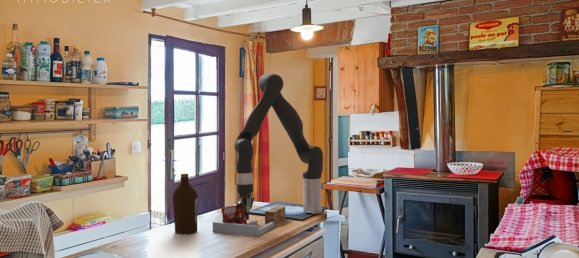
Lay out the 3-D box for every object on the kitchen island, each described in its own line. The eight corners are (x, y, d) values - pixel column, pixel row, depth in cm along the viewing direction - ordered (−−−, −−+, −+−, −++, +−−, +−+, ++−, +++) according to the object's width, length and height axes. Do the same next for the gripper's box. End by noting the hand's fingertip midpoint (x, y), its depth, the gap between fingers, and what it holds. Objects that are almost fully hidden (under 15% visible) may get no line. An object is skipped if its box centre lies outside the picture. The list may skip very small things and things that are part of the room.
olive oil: (174, 236, 192) (172, 176, 191) (172, 229, 202) (171, 173, 201) (200, 233, 195) (198, 175, 194) (197, 227, 205) (195, 171, 204)
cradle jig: (232, 222, 214) (232, 213, 213) (274, 226, 205) (274, 217, 205) (212, 231, 199) (212, 222, 198) (257, 236, 190) (256, 226, 190)
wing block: (276, 218, 220) (276, 206, 220) (285, 219, 218) (285, 206, 218) (265, 224, 209) (264, 211, 209) (273, 225, 207) (273, 212, 207)
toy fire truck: (250, 227, 205) (250, 203, 204) (227, 232, 196) (227, 208, 196) (241, 224, 210) (240, 201, 209) (218, 229, 201) (217, 206, 201)
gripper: (244, 185, 203) (246, 224, 204) (258, 180, 215) (260, 216, 216) (230, 184, 206) (231, 222, 207) (244, 179, 218) (246, 215, 219)
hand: (246, 219), depth 211 cm, fingers closed
